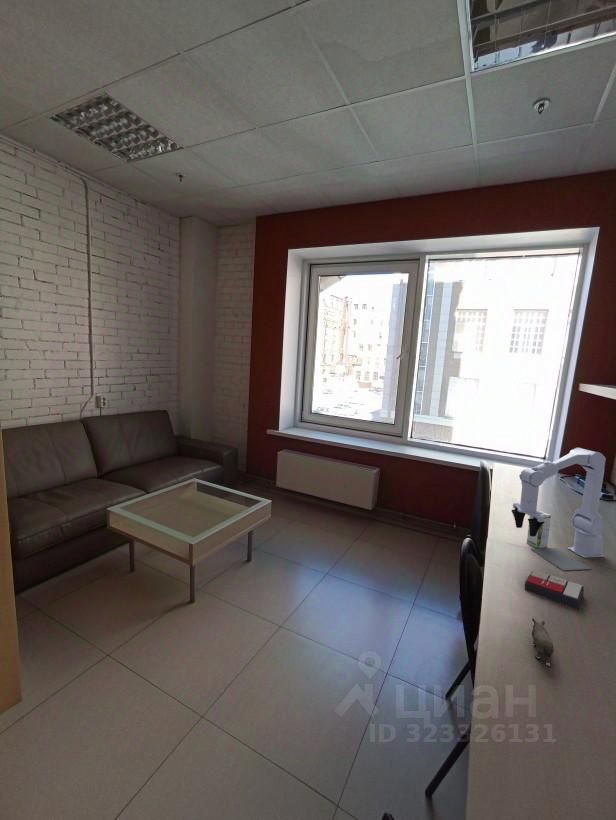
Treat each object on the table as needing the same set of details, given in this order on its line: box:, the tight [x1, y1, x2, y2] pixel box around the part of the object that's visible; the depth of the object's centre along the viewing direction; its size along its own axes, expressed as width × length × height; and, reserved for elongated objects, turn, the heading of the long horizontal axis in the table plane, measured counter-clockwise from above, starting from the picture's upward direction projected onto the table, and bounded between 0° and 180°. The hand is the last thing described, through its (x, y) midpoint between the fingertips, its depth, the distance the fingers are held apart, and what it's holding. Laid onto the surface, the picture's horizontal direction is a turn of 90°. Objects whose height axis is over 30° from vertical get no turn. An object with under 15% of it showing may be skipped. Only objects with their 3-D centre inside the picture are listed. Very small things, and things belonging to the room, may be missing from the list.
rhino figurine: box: [531, 617, 555, 663], centre depth 97 cm, size 4×14×6 cm, turn 157°
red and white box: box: [524, 569, 585, 611], centre depth 123 cm, size 11×4×15 cm
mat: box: [531, 547, 592, 572], centre depth 145 cm, size 12×16×1 cm
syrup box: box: [526, 510, 552, 549], centre depth 156 cm, size 6×6×14 cm
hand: (525, 531), depth 146 cm, fingers open, 7 cm apart
